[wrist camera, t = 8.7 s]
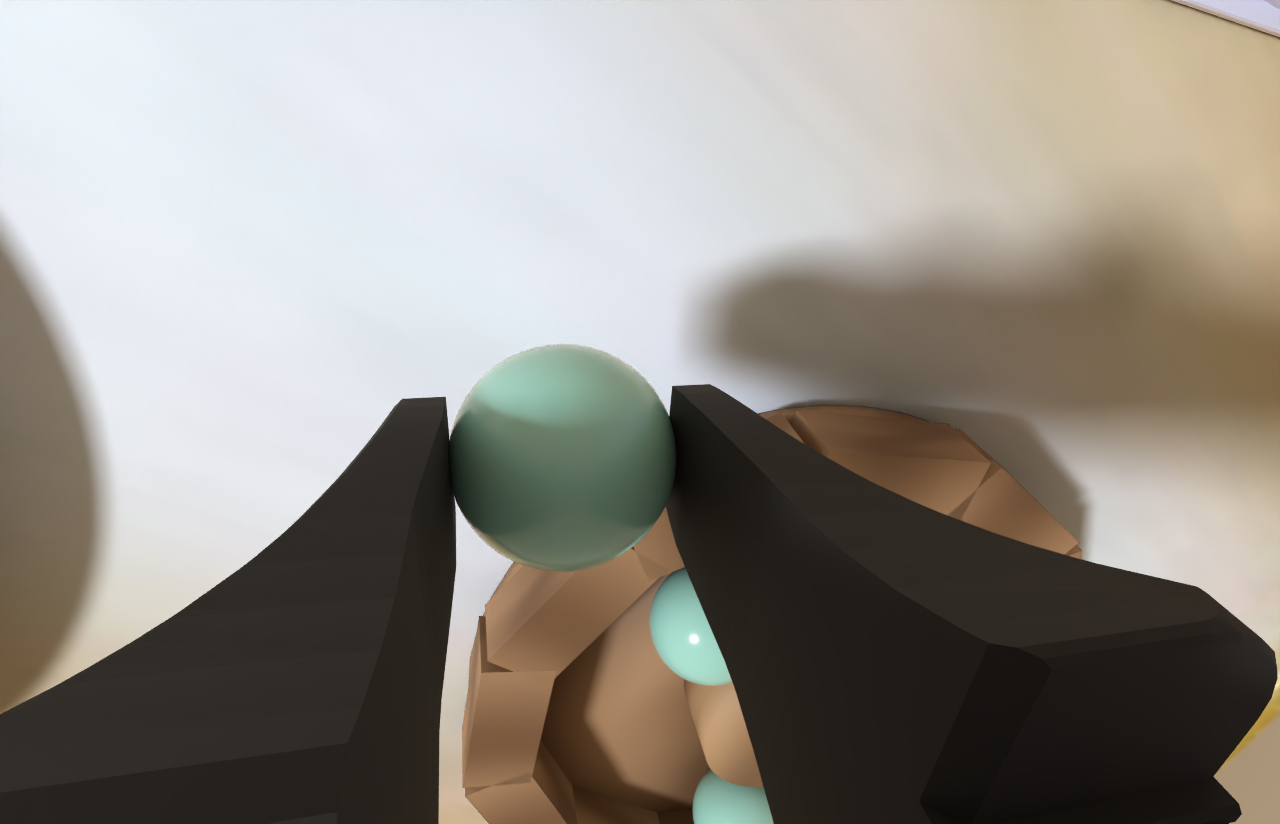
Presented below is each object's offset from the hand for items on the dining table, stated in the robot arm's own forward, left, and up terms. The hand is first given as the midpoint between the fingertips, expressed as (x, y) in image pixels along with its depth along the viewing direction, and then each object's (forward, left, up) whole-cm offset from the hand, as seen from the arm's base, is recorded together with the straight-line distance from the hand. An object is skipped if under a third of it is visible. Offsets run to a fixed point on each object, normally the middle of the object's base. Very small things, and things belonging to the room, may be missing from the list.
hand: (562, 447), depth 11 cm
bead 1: (0, 0, -2) cm, 2 cm away
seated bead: (-10, +18, -6) cm, 21 cm away
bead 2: (-6, +8, -6) cm, 12 cm away
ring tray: (-10, +12, -7) cm, 17 cm away
